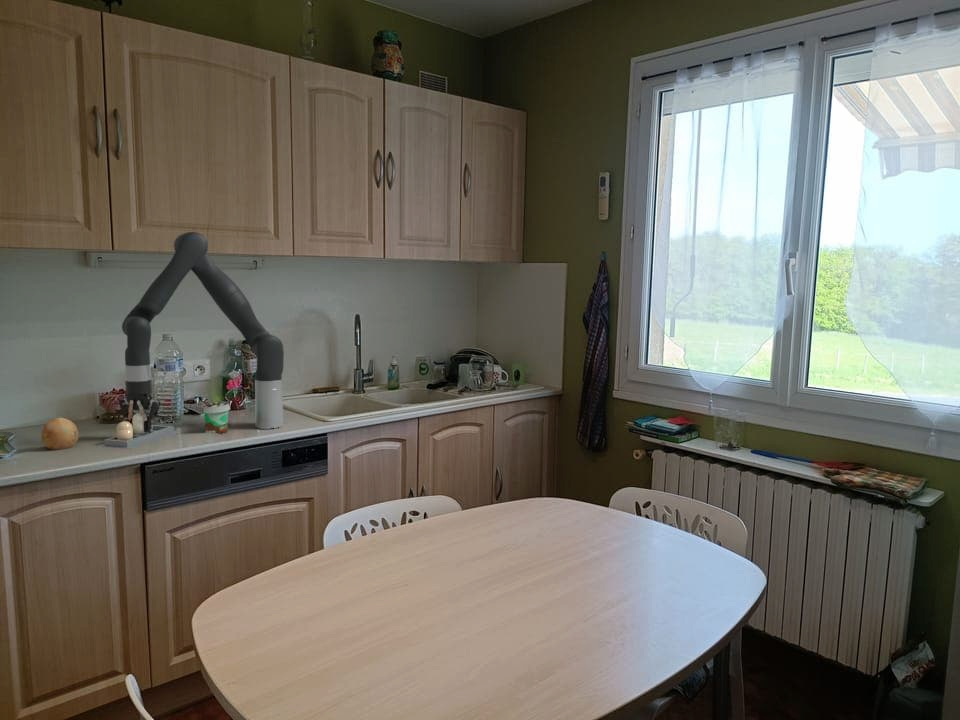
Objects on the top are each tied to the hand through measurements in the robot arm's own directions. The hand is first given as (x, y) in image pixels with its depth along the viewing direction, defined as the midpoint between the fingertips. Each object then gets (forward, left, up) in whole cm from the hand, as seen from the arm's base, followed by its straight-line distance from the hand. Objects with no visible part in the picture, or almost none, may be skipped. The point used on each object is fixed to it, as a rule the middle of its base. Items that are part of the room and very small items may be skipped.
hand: (140, 430), depth 215 cm
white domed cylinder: (0, 0, -1) cm, 1 cm away
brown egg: (+7, 0, -2) cm, 7 cm away
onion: (+16, -15, -4) cm, 22 cm away
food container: (-18, +17, -4) cm, 25 cm away
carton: (0, 0, -3) cm, 3 cm away
